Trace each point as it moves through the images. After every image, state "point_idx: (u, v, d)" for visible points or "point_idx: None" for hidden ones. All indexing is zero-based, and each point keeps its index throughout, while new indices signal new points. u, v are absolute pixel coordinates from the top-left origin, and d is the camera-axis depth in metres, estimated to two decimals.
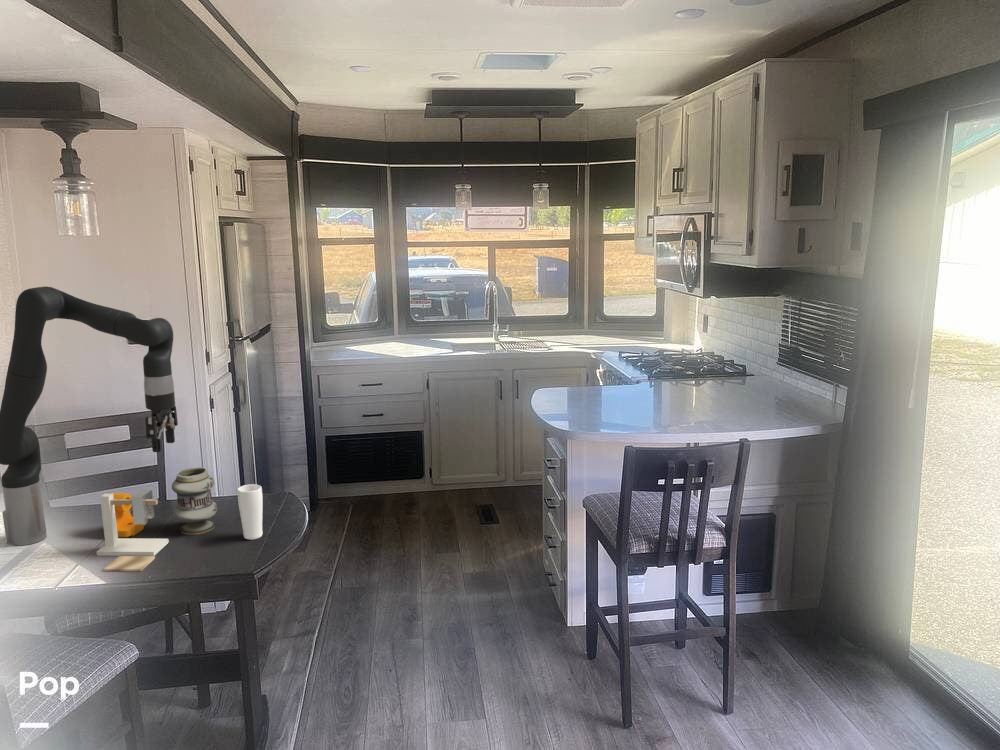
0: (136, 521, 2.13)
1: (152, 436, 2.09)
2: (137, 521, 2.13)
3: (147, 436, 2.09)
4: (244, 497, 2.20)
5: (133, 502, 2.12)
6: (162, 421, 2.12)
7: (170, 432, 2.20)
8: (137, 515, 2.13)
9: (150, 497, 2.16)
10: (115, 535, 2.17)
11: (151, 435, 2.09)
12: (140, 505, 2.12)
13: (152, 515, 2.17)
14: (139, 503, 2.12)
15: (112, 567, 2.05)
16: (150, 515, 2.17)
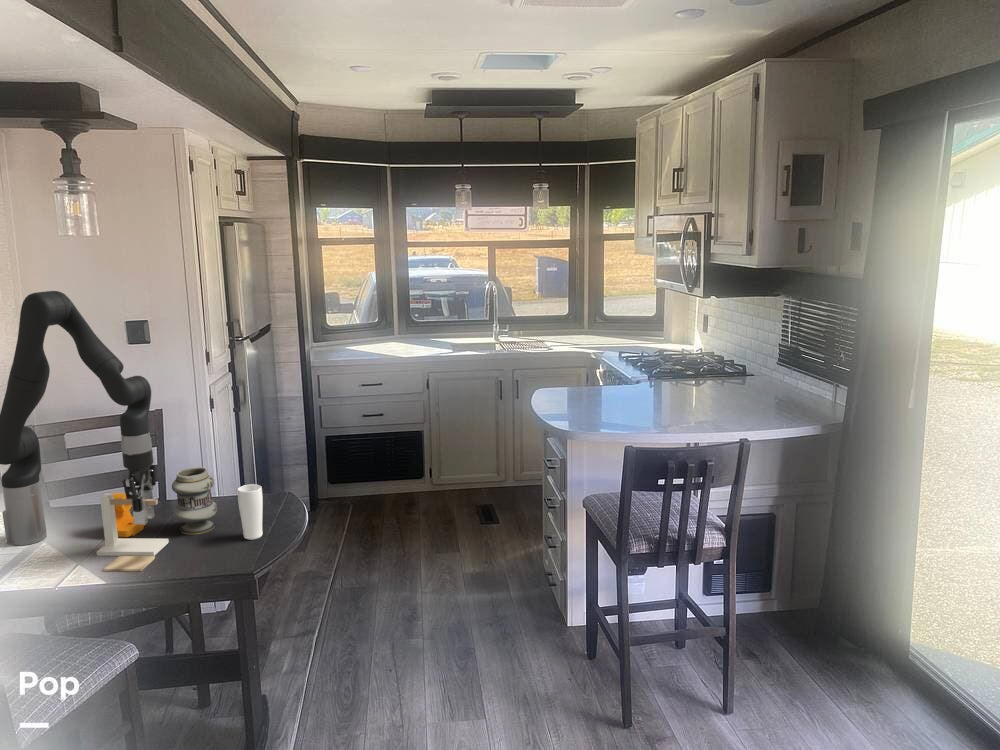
0: (136, 521, 2.13)
1: (132, 497, 2.08)
2: (137, 521, 2.13)
3: (127, 497, 2.08)
4: (244, 497, 2.20)
5: None
6: (140, 480, 2.11)
7: None
8: (137, 515, 2.13)
9: (150, 497, 2.16)
10: (115, 535, 2.17)
11: (131, 496, 2.08)
12: None
13: (152, 515, 2.17)
14: None
15: (112, 567, 2.05)
16: (150, 515, 2.17)
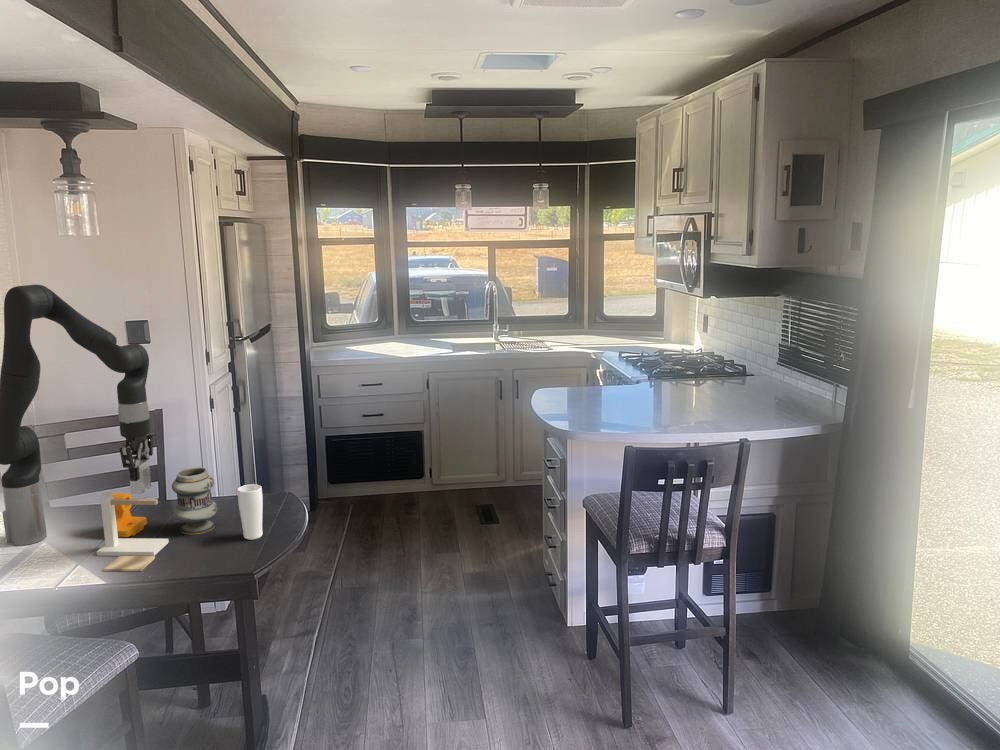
0: (132, 491, 2.11)
1: (129, 466, 2.06)
2: (134, 491, 2.11)
3: (124, 466, 2.06)
4: (244, 497, 2.20)
5: None
6: (137, 449, 2.09)
7: None
8: (134, 484, 2.11)
9: (147, 467, 2.14)
10: (115, 535, 2.17)
11: (128, 464, 2.07)
12: None
13: (149, 485, 2.16)
14: None
15: (112, 567, 2.05)
16: (147, 485, 2.15)
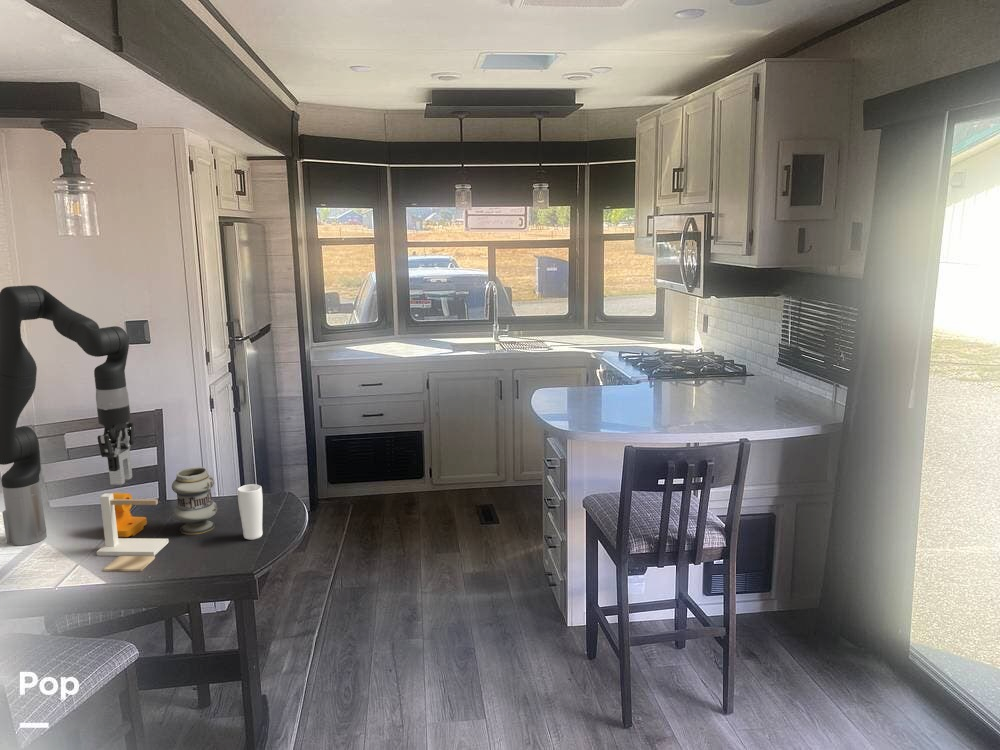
0: (112, 481, 2.00)
1: (107, 455, 1.96)
2: (114, 481, 2.00)
3: (102, 455, 1.96)
4: (244, 497, 2.20)
5: None
6: (117, 437, 1.98)
7: None
8: (113, 475, 2.00)
9: (127, 456, 2.04)
10: (115, 535, 2.17)
11: (106, 453, 1.96)
12: None
13: (130, 476, 2.05)
14: None
15: (112, 567, 2.05)
16: (128, 475, 2.04)
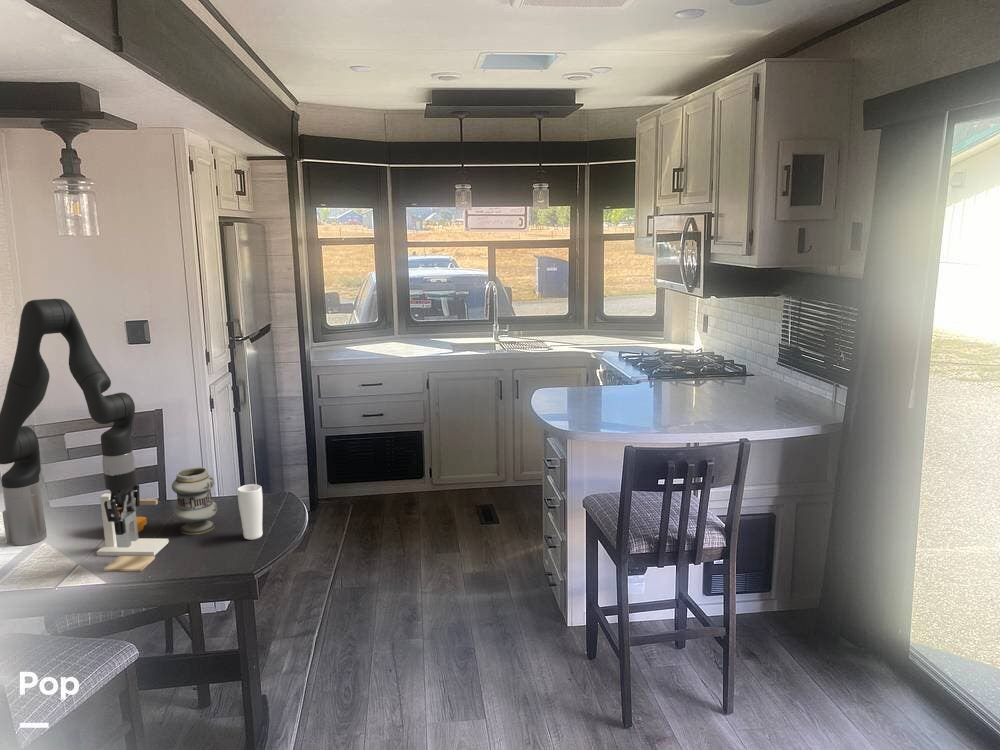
0: (119, 544, 2.04)
1: (114, 520, 1.99)
2: (120, 544, 2.04)
3: (109, 520, 1.99)
4: (244, 497, 2.20)
5: None
6: (123, 502, 2.02)
7: None
8: (120, 538, 2.03)
9: (134, 519, 2.07)
10: (115, 535, 2.17)
11: (113, 518, 1.99)
12: None
13: (136, 537, 2.08)
14: None
15: (112, 567, 2.05)
16: (134, 537, 2.08)
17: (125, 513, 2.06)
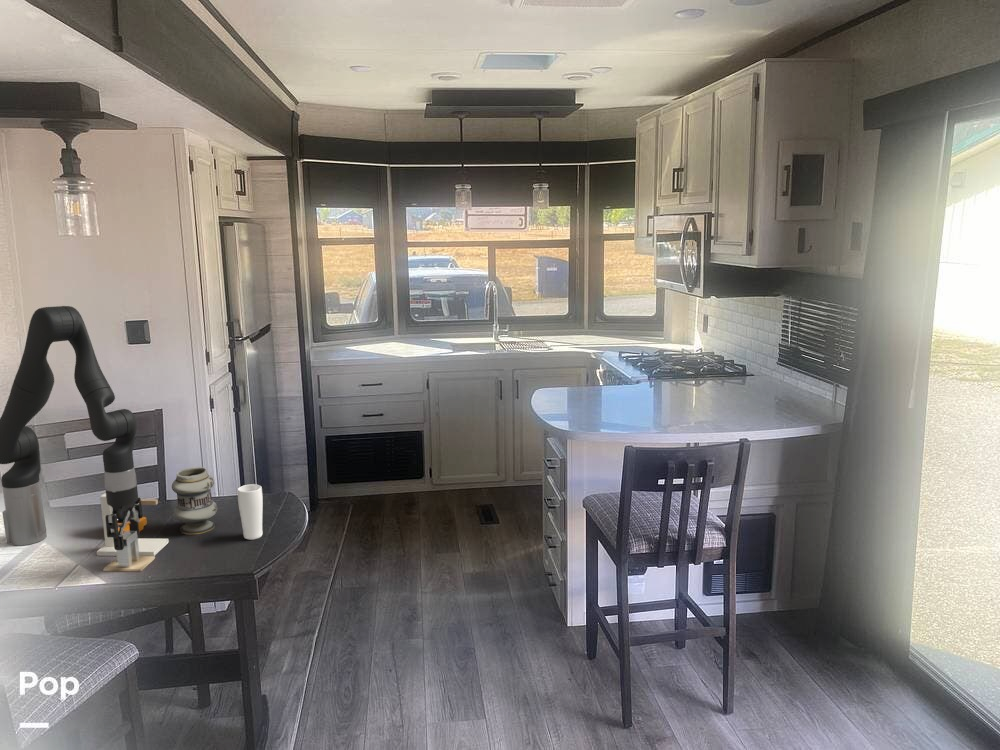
0: (120, 564, 2.05)
1: (113, 535, 1.99)
2: (121, 564, 2.05)
3: (108, 535, 1.99)
4: (244, 497, 2.20)
5: None
6: (124, 517, 2.02)
7: (134, 526, 2.10)
8: (121, 558, 2.04)
9: (135, 539, 2.08)
10: None
11: (112, 534, 1.99)
12: (125, 548, 2.04)
13: (137, 557, 2.09)
14: None
15: (112, 567, 2.05)
16: (135, 557, 2.08)
17: (126, 533, 2.07)
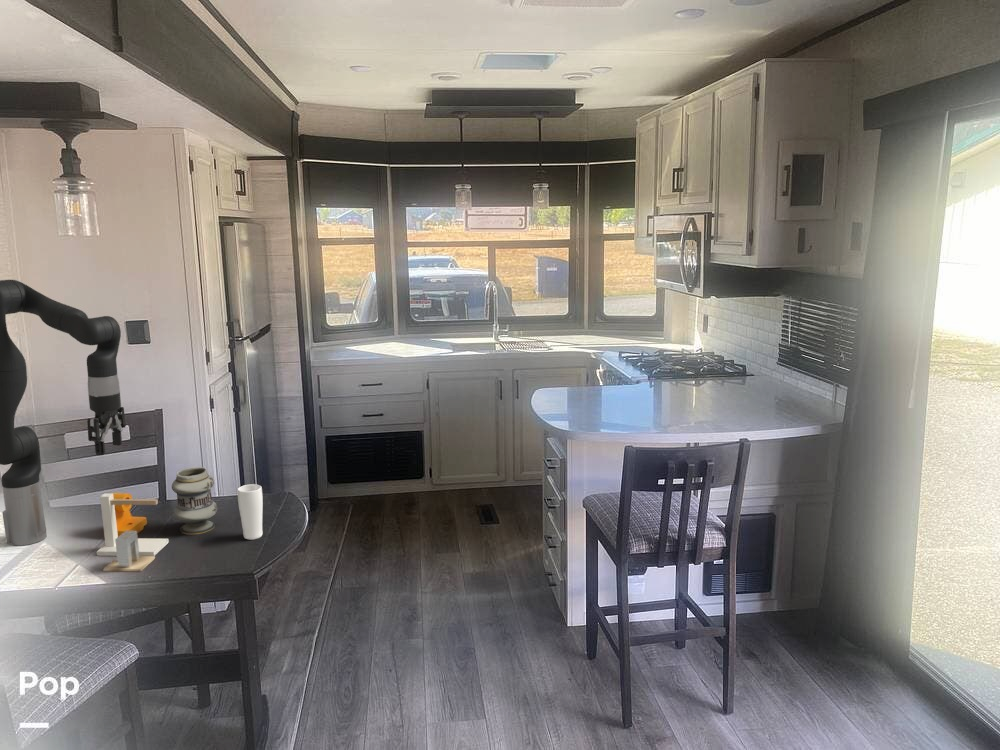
0: (120, 564, 2.05)
1: (94, 438, 2.01)
2: (121, 564, 2.05)
3: (89, 438, 2.01)
4: (244, 497, 2.20)
5: (117, 545, 2.03)
6: (106, 423, 2.05)
7: (117, 434, 2.12)
8: (121, 558, 2.04)
9: (135, 539, 2.08)
10: (115, 535, 2.17)
11: (93, 437, 2.01)
12: (125, 548, 2.04)
13: (137, 557, 2.09)
14: (123, 546, 2.03)
15: (112, 567, 2.05)
16: (135, 557, 2.08)
17: (126, 533, 2.07)
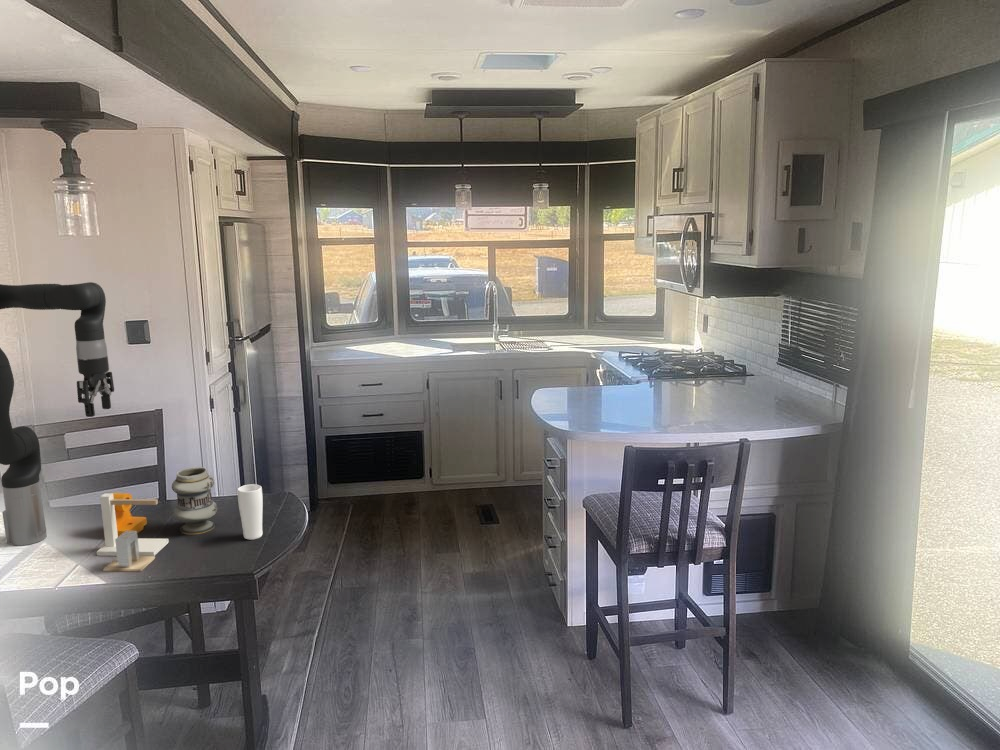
0: (120, 564, 2.05)
1: (84, 400, 2.08)
2: (121, 564, 2.05)
3: (79, 400, 2.08)
4: (244, 497, 2.20)
5: (117, 545, 2.03)
6: (95, 386, 2.12)
7: (106, 398, 2.19)
8: (121, 558, 2.04)
9: (135, 539, 2.08)
10: (115, 535, 2.17)
11: (83, 399, 2.08)
12: (125, 548, 2.04)
13: (137, 557, 2.09)
14: (123, 546, 2.03)
15: (112, 567, 2.05)
16: (135, 557, 2.08)
17: (126, 533, 2.07)
